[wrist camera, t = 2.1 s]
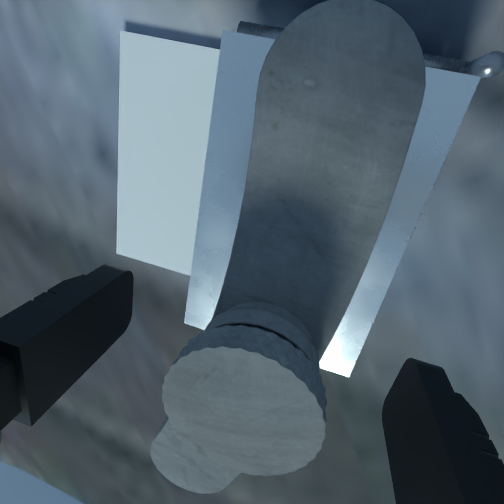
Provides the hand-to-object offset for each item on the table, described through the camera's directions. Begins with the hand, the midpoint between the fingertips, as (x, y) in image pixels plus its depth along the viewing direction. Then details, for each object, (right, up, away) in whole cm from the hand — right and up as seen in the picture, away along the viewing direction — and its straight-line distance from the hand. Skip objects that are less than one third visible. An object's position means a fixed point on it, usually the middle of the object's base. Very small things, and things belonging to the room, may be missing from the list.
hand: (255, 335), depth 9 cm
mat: (-7, +9, +17) cm, 21 cm away
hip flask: (+4, +6, +16) cm, 17 cm away
